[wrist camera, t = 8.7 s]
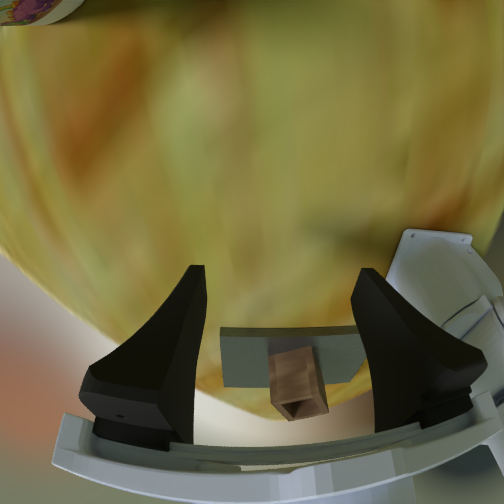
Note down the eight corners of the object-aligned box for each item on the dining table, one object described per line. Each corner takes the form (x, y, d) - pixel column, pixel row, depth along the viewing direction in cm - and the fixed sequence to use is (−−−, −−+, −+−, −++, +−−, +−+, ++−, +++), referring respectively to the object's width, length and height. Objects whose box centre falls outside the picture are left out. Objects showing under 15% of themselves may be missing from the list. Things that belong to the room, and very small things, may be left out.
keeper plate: (378, 323, 30) (391, 358, 25) (348, 375, 37) (355, 404, 33) (220, 327, 29) (217, 367, 25) (224, 379, 36) (223, 411, 32)
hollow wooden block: (310, 345, 29) (319, 392, 24) (321, 372, 33) (329, 412, 28) (267, 356, 30) (270, 403, 25) (285, 381, 34) (288, 421, 29)
